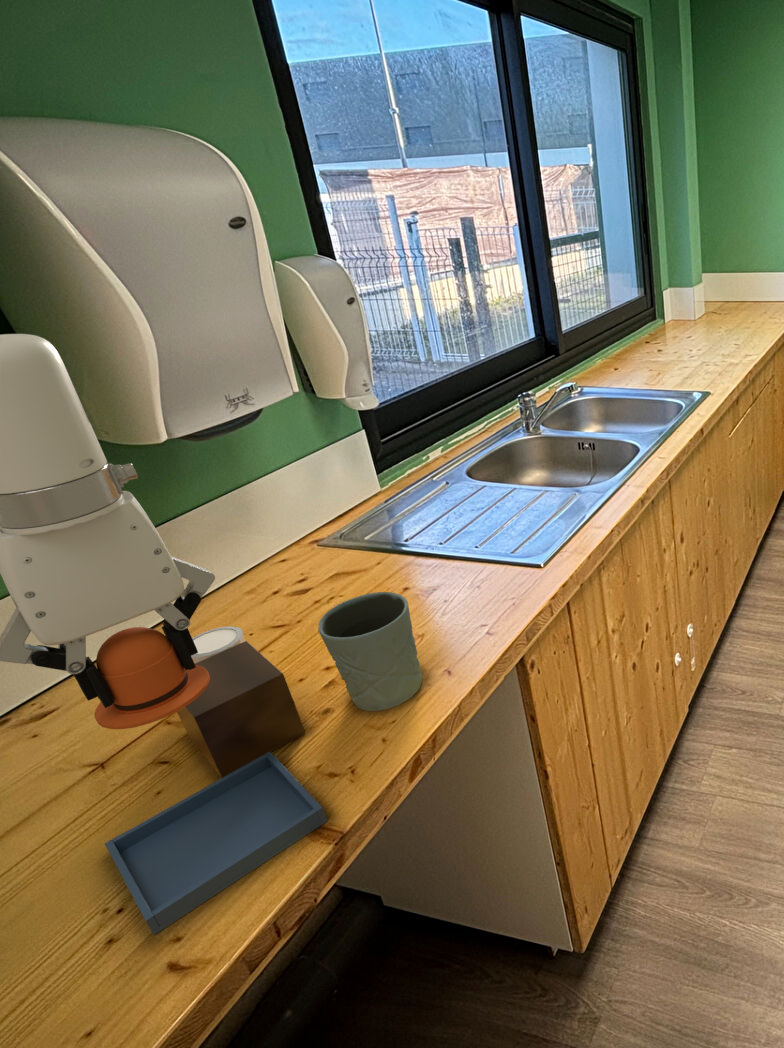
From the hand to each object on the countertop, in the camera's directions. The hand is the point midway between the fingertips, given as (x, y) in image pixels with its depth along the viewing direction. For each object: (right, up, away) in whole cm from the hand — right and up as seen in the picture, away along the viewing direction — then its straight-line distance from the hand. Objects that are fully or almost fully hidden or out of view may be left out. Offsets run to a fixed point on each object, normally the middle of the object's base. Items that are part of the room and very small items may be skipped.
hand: (146, 679), depth 62 cm
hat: (0, -2, +1) cm, 2 cm away
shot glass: (-15, -8, +32) cm, 36 cm away
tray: (+1, -18, +9) cm, 20 cm away
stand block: (-6, -12, +22) cm, 26 cm away
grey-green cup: (+8, -9, +29) cm, 31 cm away
